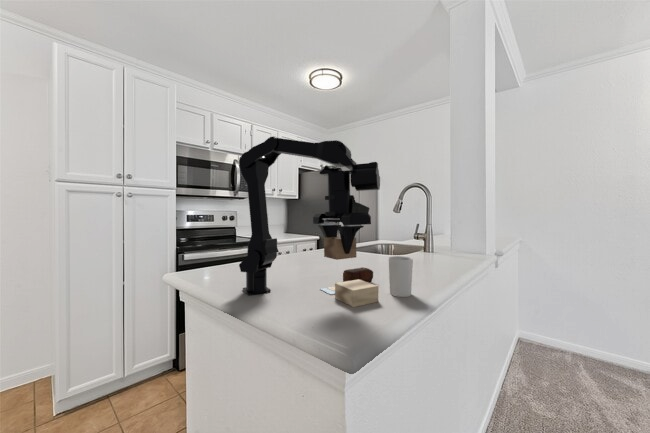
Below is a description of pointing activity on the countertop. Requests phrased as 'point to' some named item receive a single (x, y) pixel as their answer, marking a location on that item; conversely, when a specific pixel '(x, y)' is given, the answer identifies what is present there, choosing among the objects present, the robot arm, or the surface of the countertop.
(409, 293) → the drinking glass
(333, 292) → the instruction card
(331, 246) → the walnut block
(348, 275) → the brick
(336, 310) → the countertop surface
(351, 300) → the base block
